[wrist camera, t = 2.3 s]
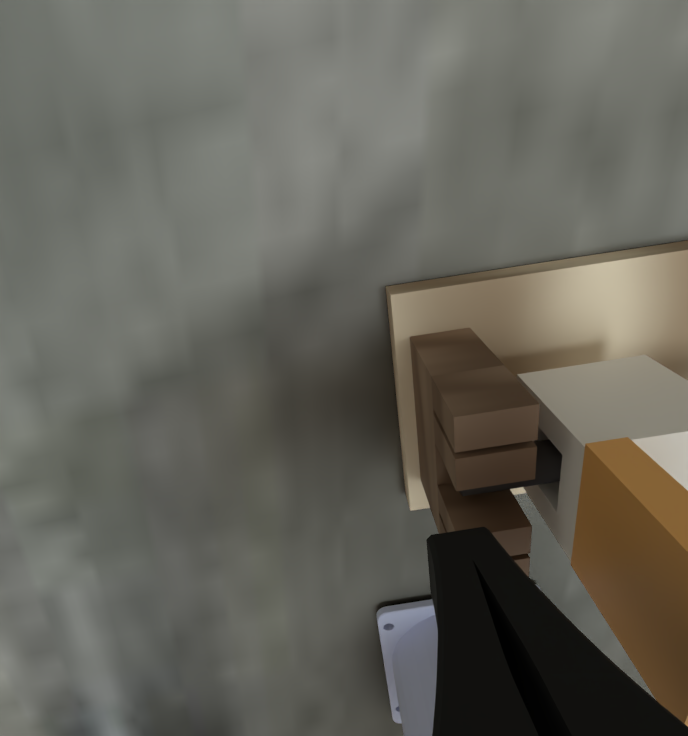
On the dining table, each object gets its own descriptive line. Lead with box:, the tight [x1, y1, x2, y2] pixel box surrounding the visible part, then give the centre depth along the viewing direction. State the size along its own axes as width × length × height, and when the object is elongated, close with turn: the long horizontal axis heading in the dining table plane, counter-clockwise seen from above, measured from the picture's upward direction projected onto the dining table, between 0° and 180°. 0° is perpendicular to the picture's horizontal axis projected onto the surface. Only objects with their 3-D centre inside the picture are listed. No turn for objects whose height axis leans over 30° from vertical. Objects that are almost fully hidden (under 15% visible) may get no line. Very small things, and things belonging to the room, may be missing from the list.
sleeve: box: [517, 355, 688, 726], centre depth 11 cm, size 4×4×8 cm
